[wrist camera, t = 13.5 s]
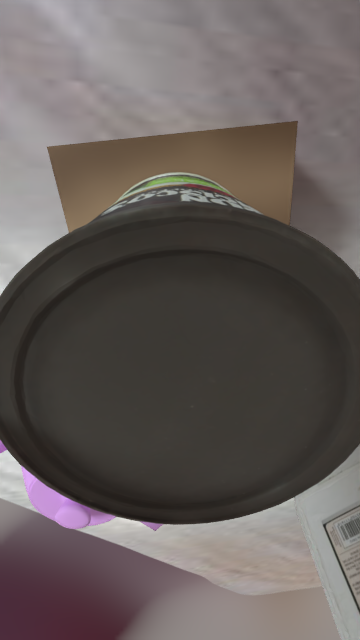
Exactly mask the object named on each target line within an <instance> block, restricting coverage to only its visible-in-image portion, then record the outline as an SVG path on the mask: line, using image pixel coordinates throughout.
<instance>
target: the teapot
mask: <svg viewBox="0 0 360 640" xmlns="http://www.w3.org/2000/svg"><path fill="white" fill-rule="evenodd" d="M5 450H7V449H6V447H5V446H4V445H3V443H2V441H1V440H0V453H2V452H4V451H5ZM21 467H22V472H23V477H24V482H25V486H26V490H27V493H28V496H29V499H30V501H31V503H32V504H33V506H34V507H35V508H36V509H37V510H38V511H39V512H40V513H41V514H43V515H44V516H46V517H48V518H50V519H52V520H54V521H57V523H58V524H60V525H61V526H64V527H67V528H72V529H78V528H83V527H86V526H91V525H97V524H102V523H105V522H107V521H110V520H112V519H113V518H115V517H116V516H113V515H109V514H105V513H102V512H99V511H96V510H93V509H91V508H88V507H86V506H84V505H81V504H79V503H77V502H74V501H72V500H70V499H68V498H66V497H64V496H62V495H61V494H59V493H57V492H56V491H54V490H53V489H51V488H49V487H47V486H46V485H45V484H43V483H42V482H41V481H39V480H38V479H37V478H36V477H34V476H33V475H32V474H31V473H30V472H28V471H27V470H26V469H25V468H24V467H23V466H21ZM140 522H141V521H140ZM141 523H143V524H145V525H146V526H148V527H150V528H151V529H153V530H155V531H156V530H157V529H158V528H159V527H160V526H162V525H163V524H156V523H149V522H141Z"/></svg>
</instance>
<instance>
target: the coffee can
mask: <svg viewBox="0 0 360 640" xmlns="http://www.w3.org/2000/svg"><path fill="white" fill-rule="evenodd" d="M0 440H1V441H2V443H3V445H4V446H5V447H6V449H7V450H8V451H9V452H10V453H11V455H12V456H13V457H14V458H15V459H16V460H17V461H18V462H19V464H20V465H21V466H23V467H24V468H25V469H26V470H27V471H28V472H30V473H31V474H32V475H33V476H34V477H36V478H37V479H38V480H39V481H41V482H42V483H43V484H45V485H46V486H47V487H49V488H51V489H53V490H54V491H56V492H57V493H59V494H61V495H62V496H64V497H66V498H68V499H70V500H72V501H74V502H77V503H79V504H81V505H84V506H86V507H88V508H91V509H93V510H96V511H99V512H102V513H105V514H109V515H113V516H116V517H121V518H125V519H130V520H135V521H141V522H149V523H156V524H173V525H176V524H200V523H211V522H218V521H224V520H229V519H234V518H239V517H243V516H246V515H250V514H253V513H257V512H260V511H263V510H266V509H268V508H271V507H274V506H276V505H279V504H281V503H283V502H285V501H287V500H289V499H291V498H293V497H295V496H297V495H299V494H301V493H303V492H304V491H306V490H308V489H309V488H311V487H313V486H314V485H316V484H318V483H319V482H320V481H322V480H323V479H325V478H326V477H327V476H329V475H330V474H331V473H332V472H333V471H334V470H335V469H337V468H338V467H339V466H340V465H341V464H342V463H343V462H344V461H346V459H347V458H348V457H349V456H350V455H351V454H352V453H353V452H354V450H355V449H356V448H357V447H358V446H359V444H360V279H359V278H358V277H357V275H356V274H355V273H354V272H353V270H352V269H351V268H350V267H349V266H348V265H347V264H346V263H345V262H344V261H343V260H342V259H341V258H340V257H338V256H337V255H336V254H335V253H333V252H332V251H331V250H330V249H328V248H327V247H326V246H324V245H323V244H322V243H320V242H319V241H317V240H316V239H314V238H312V237H311V236H309V235H307V234H305V233H303V232H301V231H299V230H297V229H295V228H293V227H291V226H289V225H287V224H284V223H282V222H280V221H278V220H276V219H273V218H270V217H268V216H265V215H263V214H262V213H260V212H259V211H257V210H255V209H254V208H252V207H251V206H249V205H247V204H246V203H244V202H242V201H241V200H239V199H238V198H236V197H235V196H233V195H232V194H231V193H230V192H229V191H228V190H227V189H225V188H224V187H222V186H221V185H219V184H218V183H216V182H214V181H212V180H210V179H208V178H205V177H203V176H200V175H197V174H191V173H183V172H176V173H165V174H160V175H156V176H153V177H150V178H148V179H145V180H143V181H141V182H139V183H138V184H136V185H134V186H133V187H131V188H130V189H129V190H128V191H126V192H125V193H124V194H123V195H122V196H121V197H120V198H119V199H118V200H117V201H116V202H115V203H114V204H113V205H111V206H110V207H109V208H107V209H106V210H105V211H103V212H102V213H101V214H100V215H98V216H97V217H96V218H95V219H93V220H92V221H91V222H89V223H88V224H86V225H84V226H82V227H80V228H77V229H75V230H73V231H72V232H70V233H68V234H67V235H65V236H63V237H62V238H60V239H59V240H57V241H55V242H54V243H52V244H51V245H49V246H48V247H46V248H45V249H44V250H43V251H42V252H40V253H39V254H38V255H37V256H36V257H34V258H33V259H32V260H31V261H30V262H29V263H28V264H26V265H25V266H24V267H23V268H22V269H21V270H20V271H19V272H18V273H17V274H16V275H15V276H14V278H13V279H12V280H11V282H10V283H9V284H8V286H7V287H6V288H5V289H4V291H3V293H2V294H1V296H0Z"/></svg>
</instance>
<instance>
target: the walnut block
mask: <svg viewBox="0 0 360 640" xmlns="http://www.w3.org/2000/svg"><path fill="white" fill-rule="evenodd" d="M297 123H298V121H293V122H284V123H274V124H264V125H255V126H245V127H235V128H225V129H216V130H206V131H196V132H187V133H177V134H167V135H157V136H148V137H138V138H128V139H119V140H109V141H99V142H90V143H80V144H70V145H60V146H51V147H47V149H48V152H49V156H50V160H51V164H52V168H53V172H54V176H55V180H56V184H57V187H58V191H59V195H60V199H61V203H62V207H63V211H64V215H65V219H66V222H67V226H68V230H69V233H70V232H72V231H73V230H75V229H77V228H80V227H82V226H84V225H86V224H88V223H89V222H91V221H92V220H93V219H95V218H96V217H97V216H98V215H100V214H101V213H102V212H103V211H105V210H106V209H107V208H109V207H110V206H111V205H113V204H114V203H115V202H116V201H117V200H118V199H119V198H120V197H121V196H122V195H123V194H124V193H125V192H126V191H128V190H129V189H130V188H131V187H133V186H134V185H136V184H138V183H139V182H141V181H143V180H145V179H148V178H150V177H153V176H156V175H160V174H165V173H176V172H183V173H191V174H197V175H200V176H203V177H205V178H208V179H210V180H212V181H214V182H216V183H218V184H219V185H221V186H222V187H224V188H225V189H227V190H228V191H229V192H230V193H231V194H232V195H233V196H235V197H236V198H238V199H239V200H241V201H242V202H244V203H246V204H247V205H249V206H251V207H252V208H254V209H255V210H257V211H259V212H260V213H262V214H263V215H265V216H268V217H270V218H273V219H276V220H278V221H280V222H282V223H284V224H287V225H289V226H290V213H291V200H292V188H293V175H294V162H295V149H296V136H297Z"/></svg>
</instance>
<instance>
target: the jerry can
mask: <svg viewBox="0 0 360 640" xmlns="http://www.w3.org/2000/svg"><path fill="white" fill-rule="evenodd" d="M294 498H295V506H296V513H297V516H298V518H299V521H300V524H301V527H302V530H303V532H304V535H305V538H306V541H307V544H308V546H309V549H310V552H311V555H312V558H313V561H314V564H315V566H316V569H317V572H318V575H319V578H320V581H321V583H322V586H323V589H324V592H325V595H326V598H327V600H328V604H329V606H330V609H331V612H332V615H333V618H334V621H335V624H336V627H337V629H338V632H339V635H340V638H341V640H360V444H359V446H358V447H357V448H356V449H355V450H354V452H353V453H352V454H351V455H350V456H349V457H348V458H347V459H346V461H344V462H343V463H342V464H341V465H340V466H339V467H338V468H337V469H335V470H334V471H333V472H332V473H331V474H330V475H329V476H327V477H326V478H325V479H323V480H322V481H320V482H319V483H318V484H316V485H314V486H313V487H311V488H309V489H308V490H306V491H304V492H303V493H301V494H299V495H297V496H295V497H294Z"/></svg>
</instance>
